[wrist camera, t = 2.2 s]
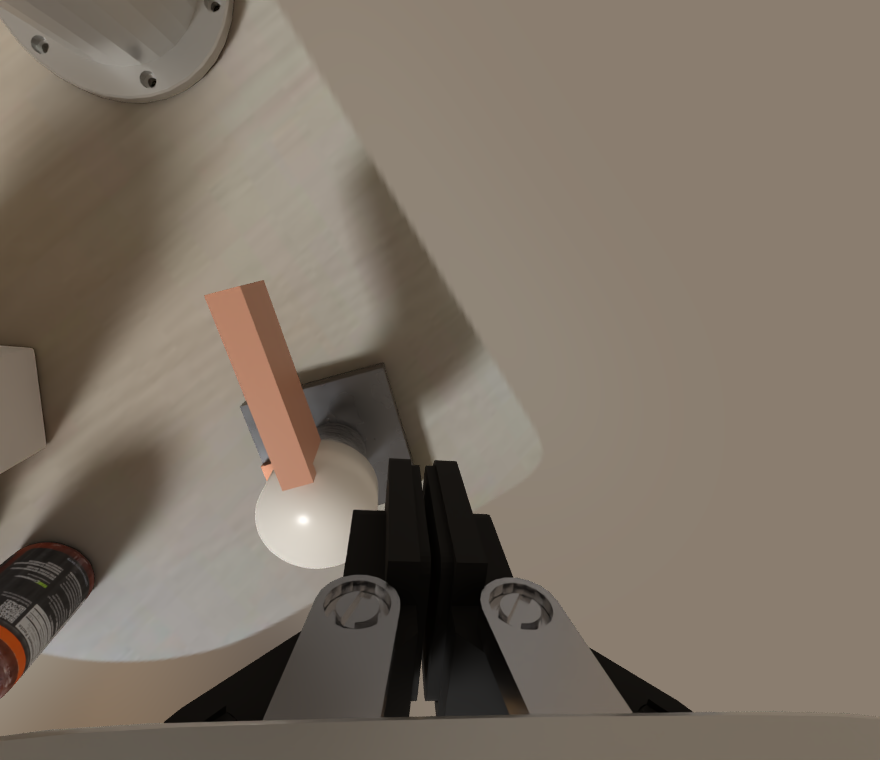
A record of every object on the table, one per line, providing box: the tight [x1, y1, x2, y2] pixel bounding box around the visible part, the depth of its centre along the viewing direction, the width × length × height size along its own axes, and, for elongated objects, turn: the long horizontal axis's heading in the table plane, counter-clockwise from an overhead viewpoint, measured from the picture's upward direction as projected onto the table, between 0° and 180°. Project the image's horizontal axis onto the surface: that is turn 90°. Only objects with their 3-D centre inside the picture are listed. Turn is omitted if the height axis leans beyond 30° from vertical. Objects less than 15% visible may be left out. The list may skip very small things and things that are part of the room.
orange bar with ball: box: [204, 280, 378, 569], centre depth 25 cm, size 16×6×4 cm, turn 14°
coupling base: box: [240, 363, 414, 505], centre depth 31 cm, size 10×10×6 cm
